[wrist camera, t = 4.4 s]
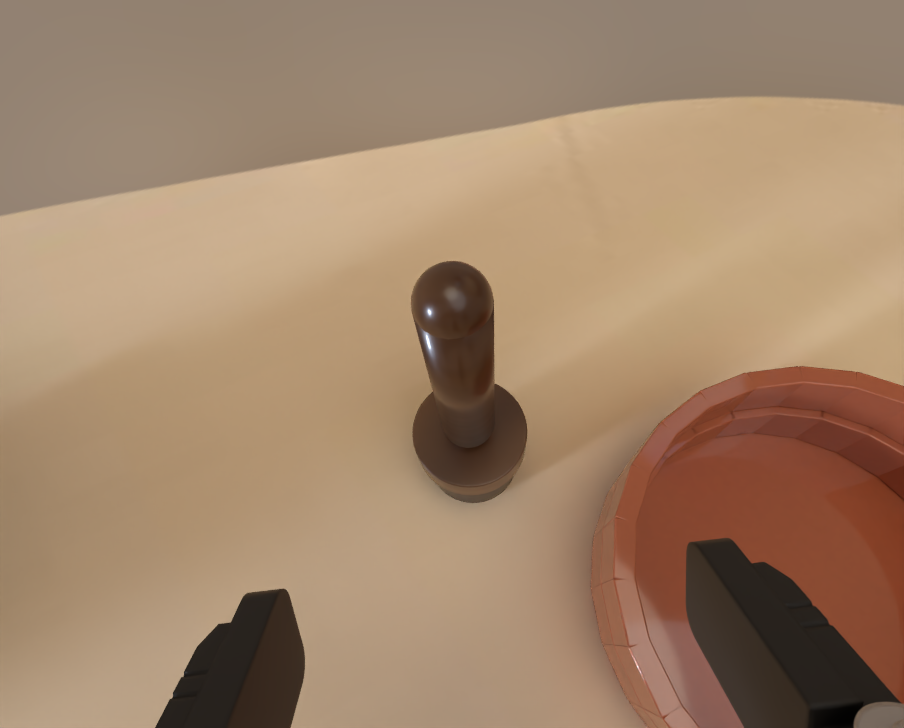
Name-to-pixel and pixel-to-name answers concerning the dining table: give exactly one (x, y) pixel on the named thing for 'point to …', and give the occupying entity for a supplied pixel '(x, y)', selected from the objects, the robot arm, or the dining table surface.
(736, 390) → the basin
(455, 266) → the tamper
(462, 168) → the dining table surface
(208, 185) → the dining table surface
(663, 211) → the dining table surface
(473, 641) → the dining table surface
